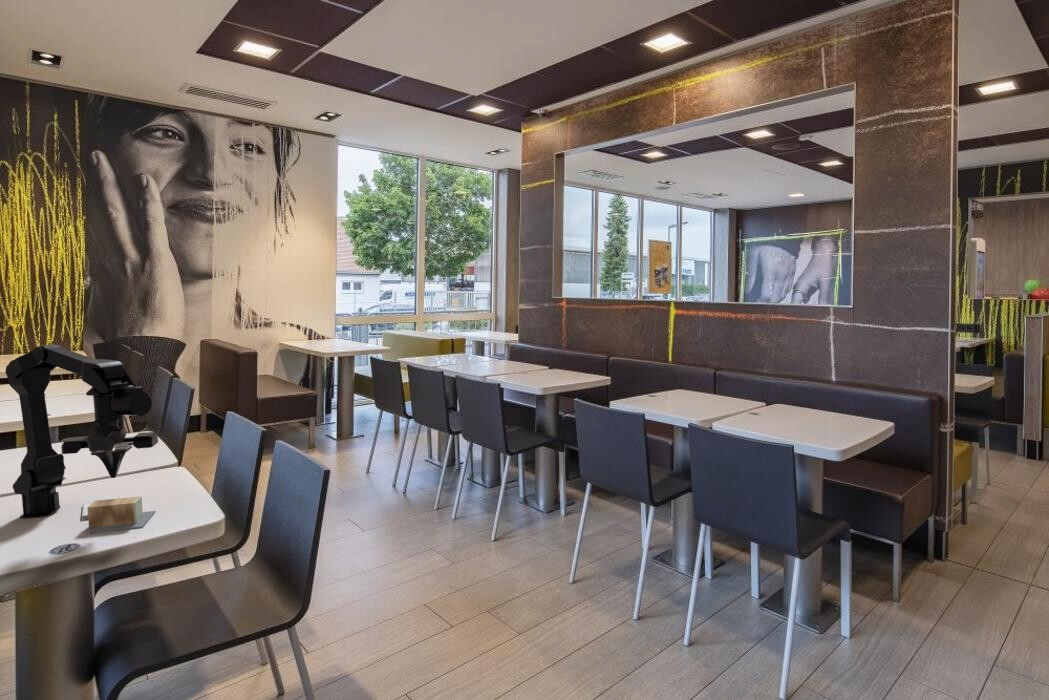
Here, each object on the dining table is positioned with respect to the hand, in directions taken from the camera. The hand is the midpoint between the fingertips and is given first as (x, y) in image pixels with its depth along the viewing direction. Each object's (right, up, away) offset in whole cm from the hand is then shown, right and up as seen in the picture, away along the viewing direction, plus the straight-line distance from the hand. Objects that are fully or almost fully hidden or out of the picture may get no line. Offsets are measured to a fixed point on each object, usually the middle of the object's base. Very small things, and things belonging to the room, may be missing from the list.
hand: (113, 477), depth 151 cm
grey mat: (+1, -11, +2) cm, 11 cm away
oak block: (-5, -9, -1) cm, 10 cm away
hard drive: (-10, -11, +11) cm, 18 cm away
